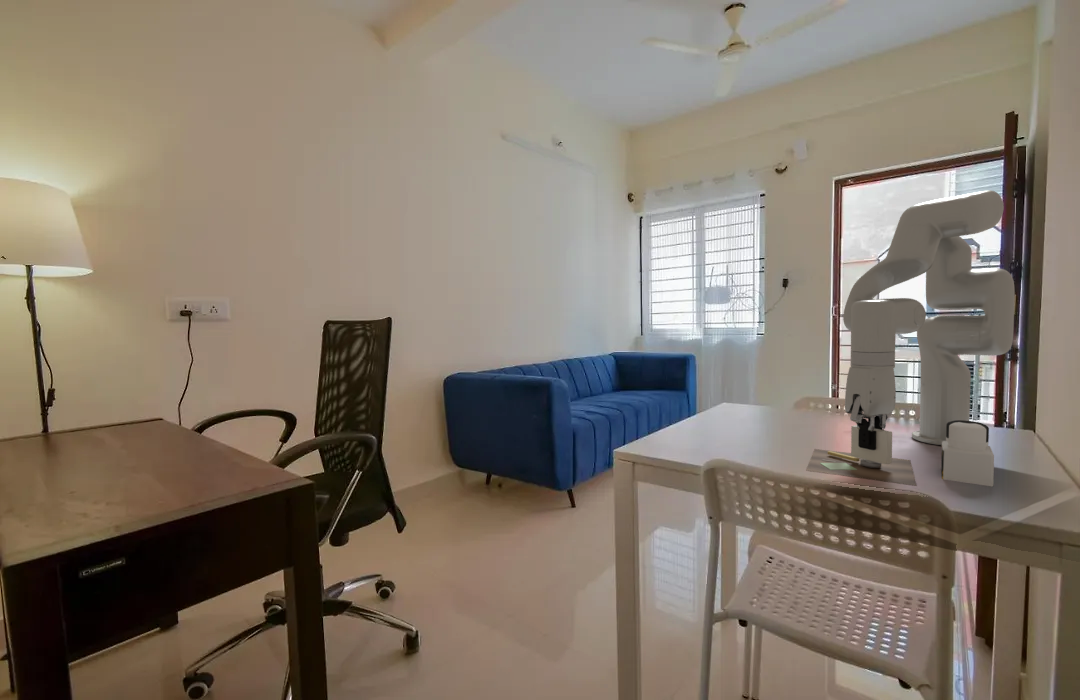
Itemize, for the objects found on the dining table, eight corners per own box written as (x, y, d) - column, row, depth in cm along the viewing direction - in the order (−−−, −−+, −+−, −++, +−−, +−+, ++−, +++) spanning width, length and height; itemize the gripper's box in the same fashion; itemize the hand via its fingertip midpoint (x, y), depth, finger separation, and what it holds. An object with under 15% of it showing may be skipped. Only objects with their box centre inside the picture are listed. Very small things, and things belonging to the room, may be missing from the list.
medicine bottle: (940, 474, 96) (942, 416, 95) (989, 481, 91) (991, 420, 91) (941, 485, 90) (943, 423, 90) (993, 493, 86) (995, 428, 85)
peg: (883, 472, 95) (884, 433, 94) (823, 456, 106) (823, 421, 106) (894, 469, 96) (894, 431, 96) (833, 454, 108) (834, 419, 107)
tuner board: (814, 453, 112) (814, 448, 112) (910, 465, 102) (910, 459, 102) (805, 475, 98) (805, 469, 98) (916, 492, 87) (916, 485, 87)
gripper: (876, 356, 104) (875, 438, 105) (829, 361, 97) (828, 449, 99) (915, 358, 97) (913, 446, 98) (867, 364, 90) (866, 458, 92)
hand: (871, 447), depth 98 cm, fingers closed on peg, 2 cm apart
